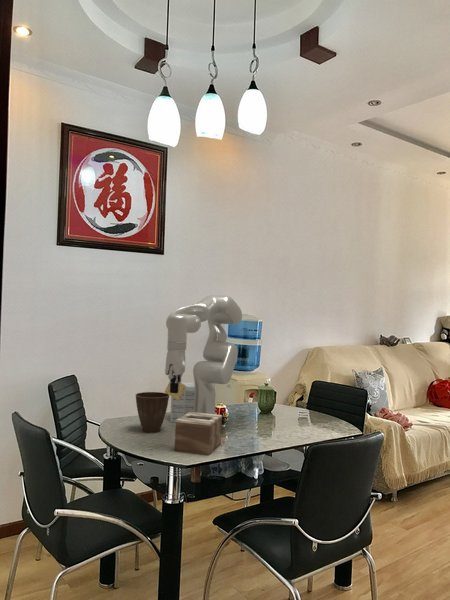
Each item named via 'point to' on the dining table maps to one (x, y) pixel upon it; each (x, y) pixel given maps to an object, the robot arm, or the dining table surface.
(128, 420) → the dining table surface
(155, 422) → the plant pot
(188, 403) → the supplement box
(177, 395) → the tan flat block
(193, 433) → the box with rectangular opening
